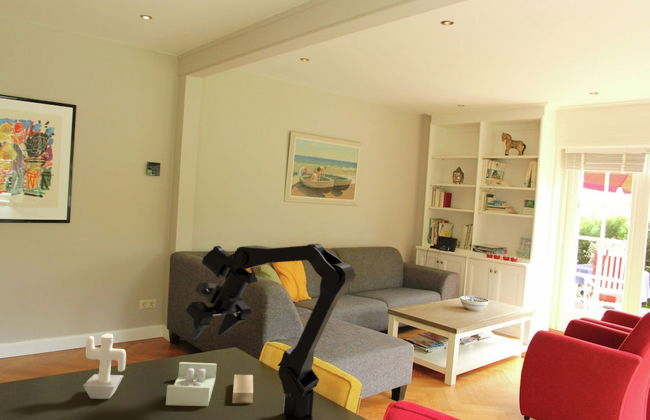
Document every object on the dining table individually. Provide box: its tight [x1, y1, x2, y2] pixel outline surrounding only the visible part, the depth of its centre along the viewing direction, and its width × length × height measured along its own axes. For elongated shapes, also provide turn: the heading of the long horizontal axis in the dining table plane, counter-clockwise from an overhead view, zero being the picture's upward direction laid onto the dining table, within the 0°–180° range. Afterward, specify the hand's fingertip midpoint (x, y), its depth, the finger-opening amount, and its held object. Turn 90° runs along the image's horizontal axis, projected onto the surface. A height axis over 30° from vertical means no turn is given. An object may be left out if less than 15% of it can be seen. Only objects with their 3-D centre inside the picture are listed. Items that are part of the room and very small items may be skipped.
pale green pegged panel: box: [165, 361, 217, 407], centre depth 124 cm, size 10×17×4 cm, turn 7°
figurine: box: [82, 332, 127, 400], centre depth 117 cm, size 7×9×15 cm
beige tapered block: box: [232, 374, 254, 404], centre depth 126 cm, size 5×12×3 cm, turn 9°
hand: (206, 336), depth 127 cm, fingers open, 9 cm apart
